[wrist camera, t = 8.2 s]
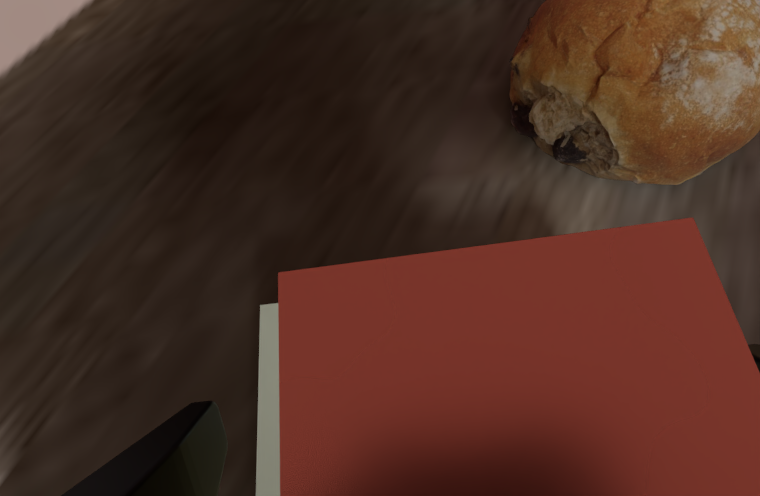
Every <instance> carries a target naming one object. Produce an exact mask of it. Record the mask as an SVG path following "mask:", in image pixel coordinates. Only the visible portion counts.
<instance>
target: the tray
mask: <svg viewBox="0 0 760 496" xmlns="http://www.w3.org/2000/svg"><path fill="white" fill-rule="evenodd" d="M256 496H280V429H279V321H278V303H275V304H266V305H260V336H259V379H258V422H257V464H256Z"/></svg>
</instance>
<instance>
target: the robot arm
mask: <svg viewBox="0 0 760 496" xmlns="http://www.w3.org/2000/svg"><path fill="white" fill-rule="evenodd" d="M748 347H749V349H750V351H751V354H752V356H753V358H754V361H755V363H756V365H757V368H758V370H759V372H760V345H758V344H751V345H748ZM226 453H227V436H226V433H225V429H224V426H223V422H222V419H221V415H220V412H219V408H218V406H217V404H216V403H215V402H213V401H204V402H194V403H191V404H189V405H188V406H186V407H185V408H184V409H182V410H181V411H179V412H178V413H177V414H175V415H174V416H172V417H171V418H170V419H168V420H167V421H165V422H164V423H163V424H161V425H160V426H158V427H157V428H156V429H154V430H153V431H151V432H150V433H149V434H147V435H146V436H144V437H143V438H141V439H140V440H139V441H137V442H136V443H134V444H133V445H132V446H130V447H129V448H127V449H126V450H125V451H123V452H122V453H120V454H119V455H118V456H116V457H115V458H113V459H112V460H111V461H109V462H108V463H106V464H105V465H104V466H102V467H101V468H99V469H98V470H97V471H95V472H94V473H92V474H91V475H90V476H88V477H87V478H85V479H84V480H83V481H81V482H80V483H78V484H77V485H76V486H74V487H73V488H71V489H70V490H69V491H67V492H66V493H64V494H63V495H61V496H217V494H218V489H219V485H220V480H221V476H222V471H223V467H224V462H225V458H226Z"/></svg>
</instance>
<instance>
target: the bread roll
mask: <svg viewBox="0 0 760 496" xmlns="http://www.w3.org/2000/svg"><path fill="white" fill-rule="evenodd" d="M509 63H510V66H511V68H512V69H511V76H510V81H511V88H510V92H509V93H510V100H511V102H512V104H511V105H512V107H511V109H510V116H511V123H512V125H513V126H514V127H515V128H516V131H517V132H518V133H520V134H522V135H526V136H527V137H533V139H534V140H535V142H536V145H537V146H538V147H539V148H540V149H541V150H542V151H544V152H545V153H547V154H549V155H551V156H553V157H554V158H555V159H556V160H558V161H559V162H561V163H563V164H567V165H572V166H574V167H576V168H578V169H580V170H582V171H584V172H586V173H588V174H590V175H593V176H595V177H598V178H605V179H613V180H621V181H633V182H634V183H636V184H639V183H648V184H649V183H653V184H663V185H677V184H681V183H683V182H684V181H686V180H688V179H691V178H693V177H695V176H697V175H701V174H702V172H703V171H704V170H706V169H707V168H709V167H710V166H711V165H713V164H715V163H717V162H719V161H720V160H722V159H723V158H725V157H726V156H728V155H729V154H731V153H733V152H735V151H737V150H739V149H740V148H741V147H743V146H744V145H745V144H747V143H748V142H749V141H750V140H751V139H752V138H753V137H754V136H755V135H756V134H757V133H758V132H759V131H760V0H546V1H545V2H544V3H543V4H542V5H541V6H540V7H539V8H538V10H537V11H536V13H535V14H534V17H531V18H529V20H528V25H527V28H526V30H525V31H524V33H523V35H522V37H521V39H520V41H519V43H518V45H517V47H516V49H515V51H514V54H513V56H512V58H511V59H510V61H509ZM553 144H554V145H553Z"/></svg>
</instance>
